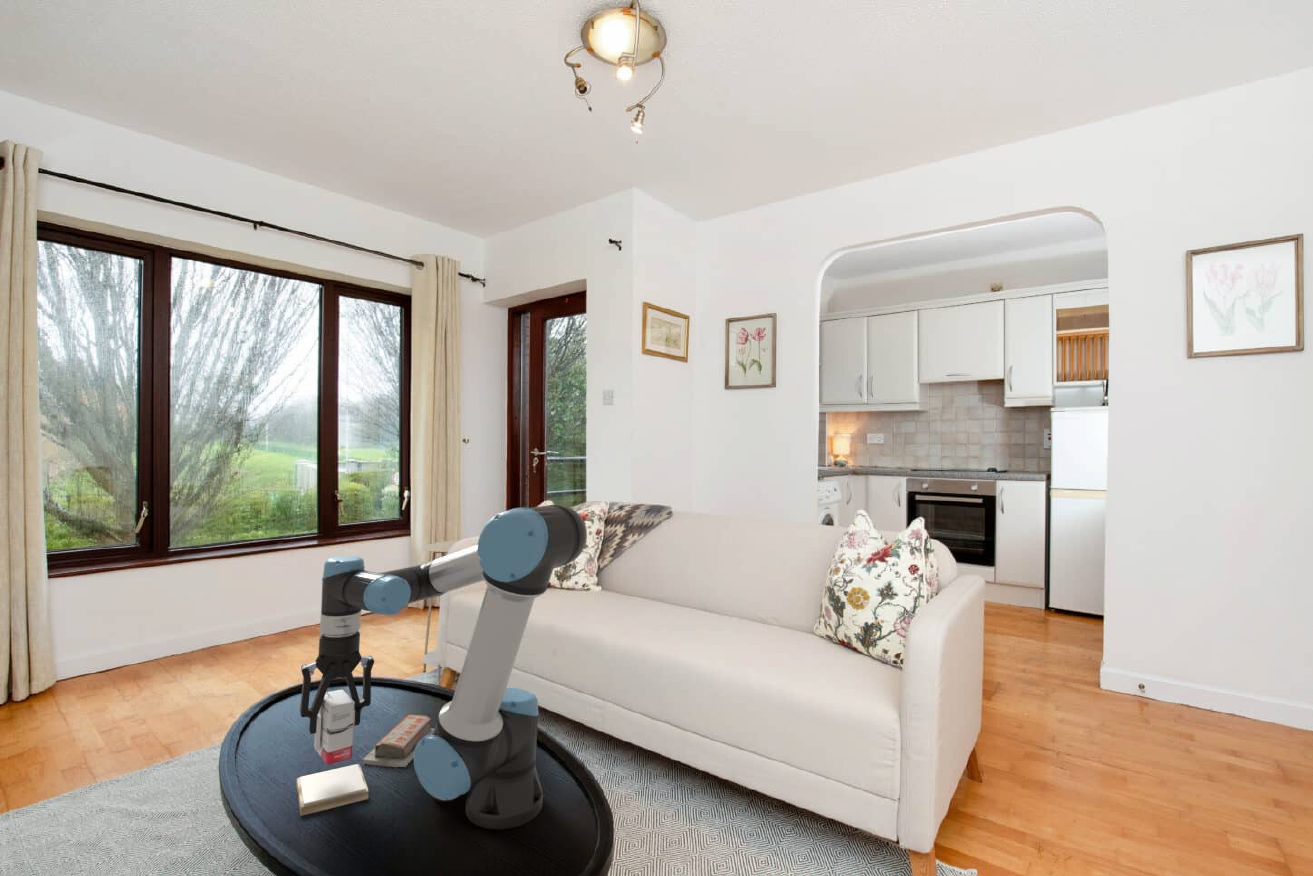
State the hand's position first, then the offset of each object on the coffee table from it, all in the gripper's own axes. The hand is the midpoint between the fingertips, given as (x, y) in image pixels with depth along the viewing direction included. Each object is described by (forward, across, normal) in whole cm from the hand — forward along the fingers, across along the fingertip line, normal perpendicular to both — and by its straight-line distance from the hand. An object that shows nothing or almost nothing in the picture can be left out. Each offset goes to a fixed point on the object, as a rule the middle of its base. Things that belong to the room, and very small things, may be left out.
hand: (333, 744), depth 129 cm
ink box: (+2, 0, 0) cm, 2 cm away
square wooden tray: (+10, 0, 0) cm, 10 cm away
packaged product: (+11, +16, +13) cm, 23 cm away
